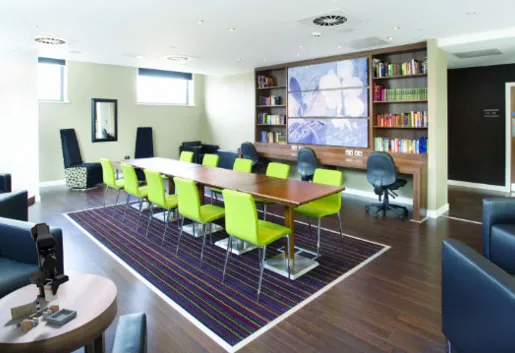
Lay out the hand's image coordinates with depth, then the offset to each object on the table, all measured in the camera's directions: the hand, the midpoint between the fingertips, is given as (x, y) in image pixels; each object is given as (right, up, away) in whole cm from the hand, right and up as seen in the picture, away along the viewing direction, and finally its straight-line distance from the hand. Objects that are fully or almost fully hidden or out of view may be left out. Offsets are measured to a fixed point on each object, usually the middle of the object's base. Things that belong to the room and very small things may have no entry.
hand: (51, 294), depth 173 cm
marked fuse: (0, -3, 0) cm, 3 cm away
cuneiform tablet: (-15, -13, +6) cm, 21 cm away
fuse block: (-8, -13, +2) cm, 15 cm away
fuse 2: (-3, -12, +9) cm, 15 cm away
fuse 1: (-9, -14, -5) cm, 17 cm away
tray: (+4, -13, +3) cm, 13 cm away
